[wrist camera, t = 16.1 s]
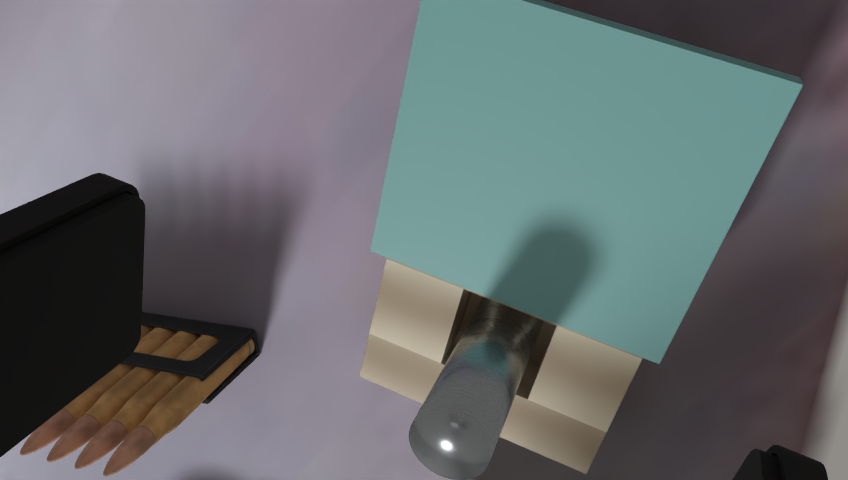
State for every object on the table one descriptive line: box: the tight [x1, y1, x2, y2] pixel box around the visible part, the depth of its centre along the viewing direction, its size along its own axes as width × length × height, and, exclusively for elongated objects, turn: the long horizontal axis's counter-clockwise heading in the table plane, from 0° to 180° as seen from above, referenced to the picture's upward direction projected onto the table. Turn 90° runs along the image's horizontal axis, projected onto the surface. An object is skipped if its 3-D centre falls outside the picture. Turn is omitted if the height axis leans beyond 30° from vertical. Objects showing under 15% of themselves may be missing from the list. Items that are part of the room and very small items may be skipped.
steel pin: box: [409, 297, 543, 480], centre depth 31 cm, size 3×3×10 cm
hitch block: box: [360, 258, 643, 474], centre depth 32 cm, size 18×12×4 cm, turn 167°
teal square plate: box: [370, 0, 803, 364], centre depth 27 cm, size 12×13×1 cm
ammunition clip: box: [20, 312, 259, 476], centre depth 40 cm, size 11×2×12 cm, turn 94°
